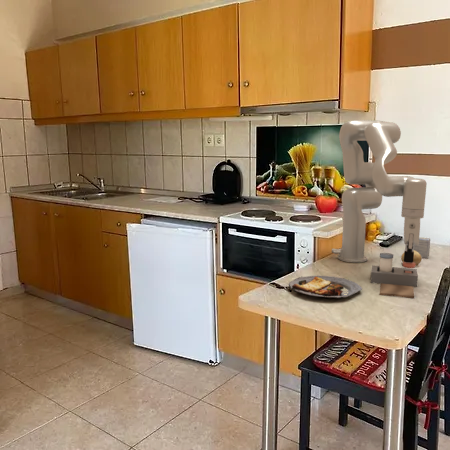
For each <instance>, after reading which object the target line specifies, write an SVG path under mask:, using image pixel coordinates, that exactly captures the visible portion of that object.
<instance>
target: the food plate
mask: <svg viewBox="0 0 450 450" xmlns="http://www.w3.org/2000/svg"><path fill="white" fill-rule="evenodd" d="M288 287H289V288H290V289H291V290H293V291H294V292H297V293H300V294H304V295H307V296H309V297H318V298H327V299H330V298H331V299H340V298H343V299H345V298H348V297H352V296H353V295H355V294H356V293H359V292H360V291H363V287H362V286H360V284H358V283H357V282H355V281H352V280H350V279H347V278H342V277H339V276H330V275H329V276H328V275H306V276H299V277H297V278H295V279H293V280H291V281H289V283H288ZM344 289H345V290H346V291H345V290H344ZM347 292H348V293H347ZM344 294H347V295H344Z"/></svg>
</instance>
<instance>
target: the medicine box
mask: <svg viewBox="0 0 450 450" xmlns="http://www.w3.org/2000/svg"><path fill="white" fill-rule="evenodd" d="M430 246H431V238H430V237H425V236H424V237H421V236H419V245H418V246H417V245H415V242H414V250H415V251H417V252H418V253H419V254H420V255H421V258H422V259H428V258H429V257H430V252H431V251H430V248H431V247H430Z"/></svg>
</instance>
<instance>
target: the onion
mask: <svg viewBox="0 0 450 450" xmlns="http://www.w3.org/2000/svg"><path fill="white" fill-rule="evenodd" d="M422 259H423V258H421V255H420V254H419V253H418V252H417V251H415V250H414V258H413V262H414V263H416V264H415V267H416V266H418V265H419V264H420V263H421V262H422ZM400 260H401V262H402V263H403V262H404V252H403V253H402V254H401V257H400Z"/></svg>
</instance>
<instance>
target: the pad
mask: <svg viewBox="0 0 450 450" xmlns="http://www.w3.org/2000/svg"><path fill="white" fill-rule="evenodd" d="M379 285H380V286H379V296H388V297H396V298H397V297H398V298H406V299H407V298H408V299H415V291H414V287H413V286H403V285H393V284H382V283H379Z"/></svg>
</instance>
